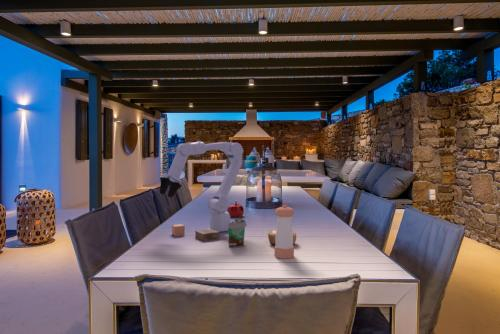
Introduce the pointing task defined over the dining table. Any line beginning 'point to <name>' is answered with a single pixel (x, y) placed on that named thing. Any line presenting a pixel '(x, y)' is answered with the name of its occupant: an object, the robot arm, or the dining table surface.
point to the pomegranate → (235, 210)
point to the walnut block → (207, 234)
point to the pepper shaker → (284, 233)
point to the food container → (236, 233)
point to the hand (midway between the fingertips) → (165, 195)
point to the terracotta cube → (178, 230)
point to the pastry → (273, 234)
